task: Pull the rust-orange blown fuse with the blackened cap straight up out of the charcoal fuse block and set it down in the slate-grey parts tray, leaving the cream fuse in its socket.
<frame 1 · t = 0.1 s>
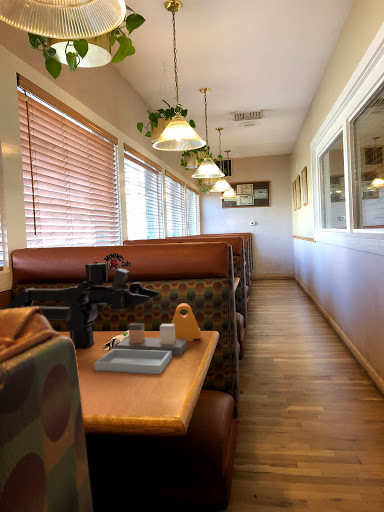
hand: (153, 295, 116), 17 cm above the table, tool horizontal, fingers open, 9 cm apart
bracket: (184, 339, 127), on the table
parts tray: (134, 364, 102), on the table
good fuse: (168, 350, 114), resting in fuse block
blown fuse: (137, 349, 116), resting in fuse block
fuse block: (152, 350, 115), on the table
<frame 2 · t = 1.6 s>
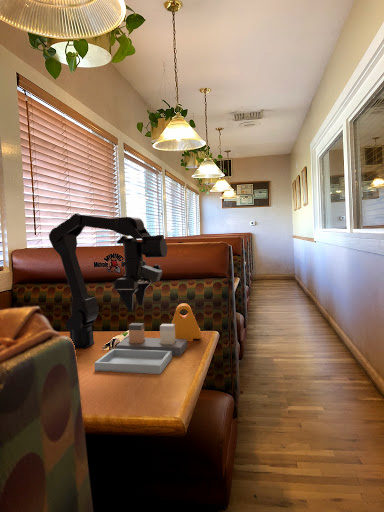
hand: (135, 308, 115), 13 cm above the table, tool pointing down, fingers open, 9 cm apart
nothing on the table moved.
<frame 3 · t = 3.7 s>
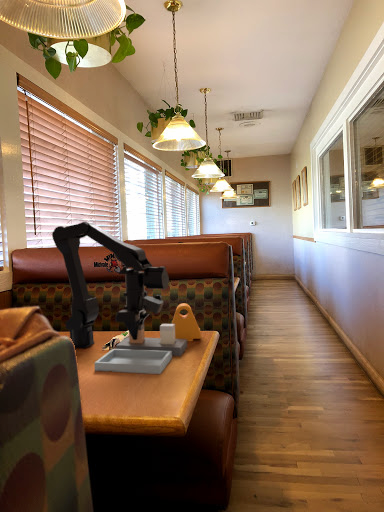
hand: (136, 338, 116), 4 cm above the table, tool pointing down, fingers closed on blown fuse, 3 cm apart
blown fuse: (137, 349, 116), resting in fuse block, touching gripper
everything else where it was.
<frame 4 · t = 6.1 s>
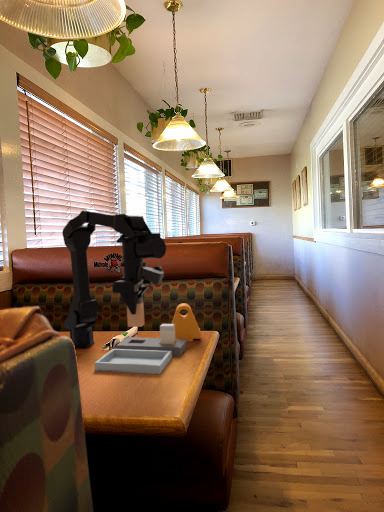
hand: (135, 313, 106), 13 cm above the table, tool pointing down, fingers closed on blown fuse, 3 cm apart
blown fuse: (136, 325, 106), point 10 cm above the table, touching gripper
everything else where it was.
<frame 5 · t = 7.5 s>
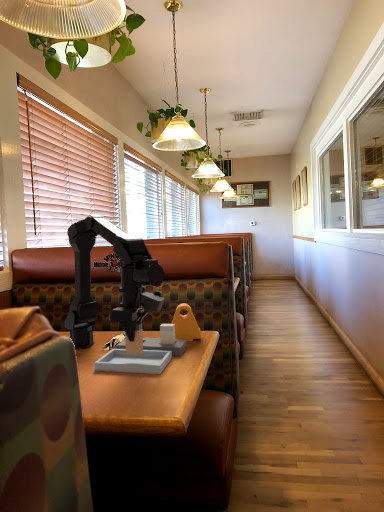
hand: (133, 339, 102), 7 cm above the table, tool pointing down, fingers closed on blown fuse, 3 cm apart
blown fuse: (134, 352, 102), point 3 cm above the table, touching gripper
everything else where it was.
when the fingers open (5 cm above the table, at t = 8.4 s): blown fuse drops 2 cm, resting on parts tray.
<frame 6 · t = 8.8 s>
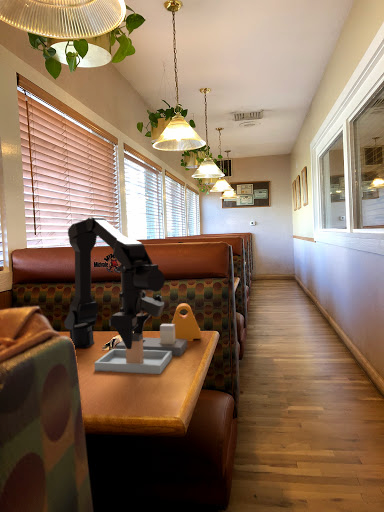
hand: (134, 344, 102), 5 cm above the table, tool pointing down, fingers open, 7 cm apart
blown fuse: (135, 362, 102), resting on parts tray
everything else where it was.
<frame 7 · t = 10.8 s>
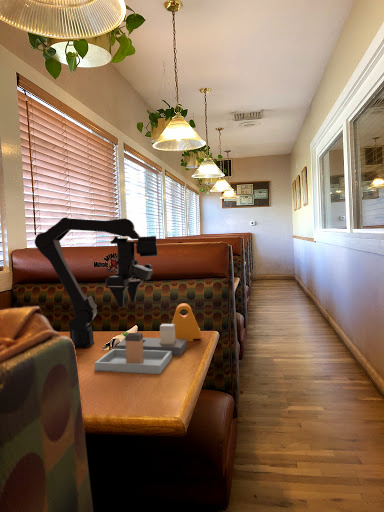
hand: (127, 304, 122), 13 cm above the table, tool pointing down, fingers open, 9 cm apart
nothing on the table moved.
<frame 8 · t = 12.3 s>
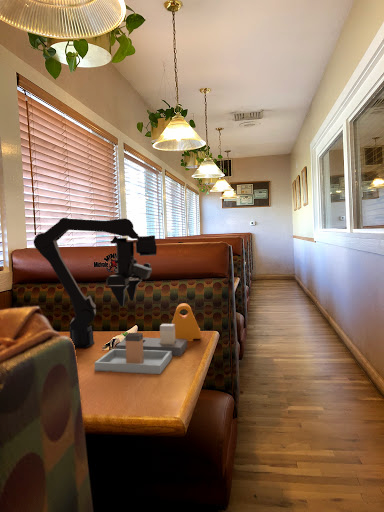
hand: (127, 303, 124), 13 cm above the table, tool pointing down, fingers open, 9 cm apart
nothing on the table moved.
at the end: blown fuse inside the target area on the parts tray (0.0 cm from its centre), point 0.4 cm above the parts tray's base; the gripper is holding nothing; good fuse moved 0.0 cm from its start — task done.
